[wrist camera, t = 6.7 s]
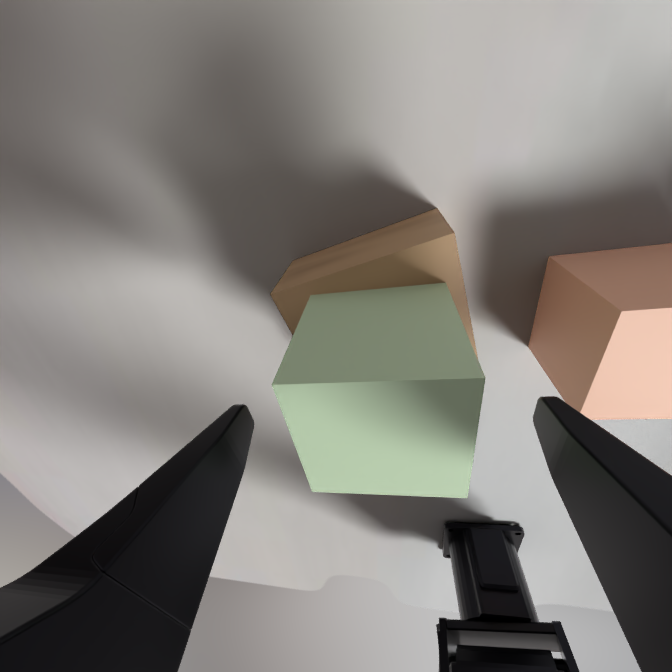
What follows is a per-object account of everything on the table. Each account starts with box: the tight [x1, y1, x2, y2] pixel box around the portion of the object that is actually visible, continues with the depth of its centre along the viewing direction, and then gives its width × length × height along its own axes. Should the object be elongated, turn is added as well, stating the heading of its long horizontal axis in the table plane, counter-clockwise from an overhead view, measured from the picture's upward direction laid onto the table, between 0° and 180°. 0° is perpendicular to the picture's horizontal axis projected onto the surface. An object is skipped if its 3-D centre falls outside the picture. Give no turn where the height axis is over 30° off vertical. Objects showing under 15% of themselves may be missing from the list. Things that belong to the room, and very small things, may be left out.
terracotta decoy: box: [528, 243, 672, 420], centre depth 12 cm, size 5×5×5 cm
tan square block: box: [270, 208, 478, 359], centre depth 14 cm, size 7×7×4 cm
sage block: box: [272, 283, 485, 498], centre depth 10 cm, size 5×5×5 cm
